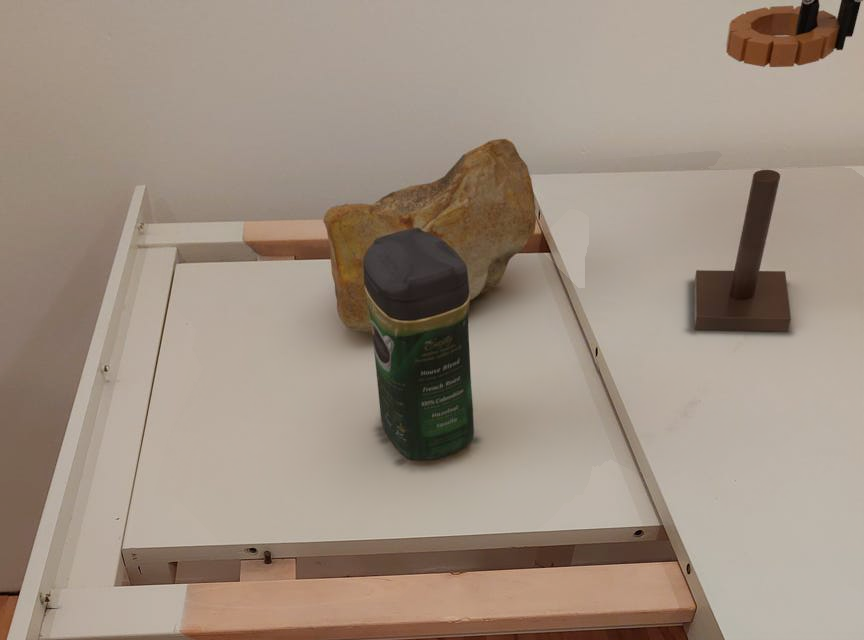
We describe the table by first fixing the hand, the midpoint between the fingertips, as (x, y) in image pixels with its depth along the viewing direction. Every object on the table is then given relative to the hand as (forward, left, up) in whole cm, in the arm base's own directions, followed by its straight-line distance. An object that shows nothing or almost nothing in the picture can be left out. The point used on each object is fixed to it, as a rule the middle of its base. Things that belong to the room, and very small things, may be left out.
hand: (821, 43), depth 91 cm
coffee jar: (+34, +38, -19) cm, 55 cm away
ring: (+4, 0, 0) cm, 4 cm away
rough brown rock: (+39, +13, -19) cm, 45 cm away
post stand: (+5, +15, -19) cm, 25 cm away
